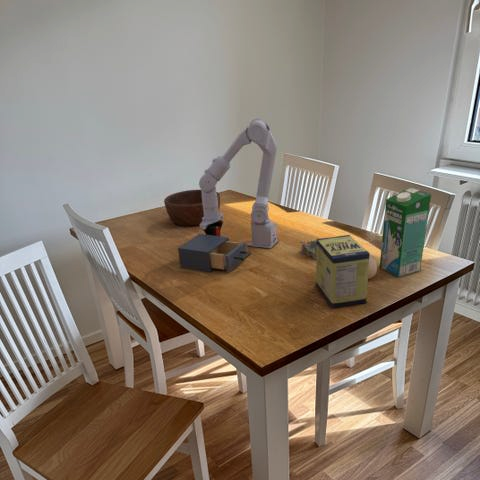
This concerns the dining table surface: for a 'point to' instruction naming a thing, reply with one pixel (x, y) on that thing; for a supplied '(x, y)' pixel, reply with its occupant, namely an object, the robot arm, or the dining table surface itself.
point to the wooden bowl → (186, 207)
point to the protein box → (342, 270)
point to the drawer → (228, 255)
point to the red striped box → (217, 231)
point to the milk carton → (404, 231)
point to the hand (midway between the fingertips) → (214, 241)
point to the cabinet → (199, 251)
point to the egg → (372, 267)
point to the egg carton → (310, 248)
